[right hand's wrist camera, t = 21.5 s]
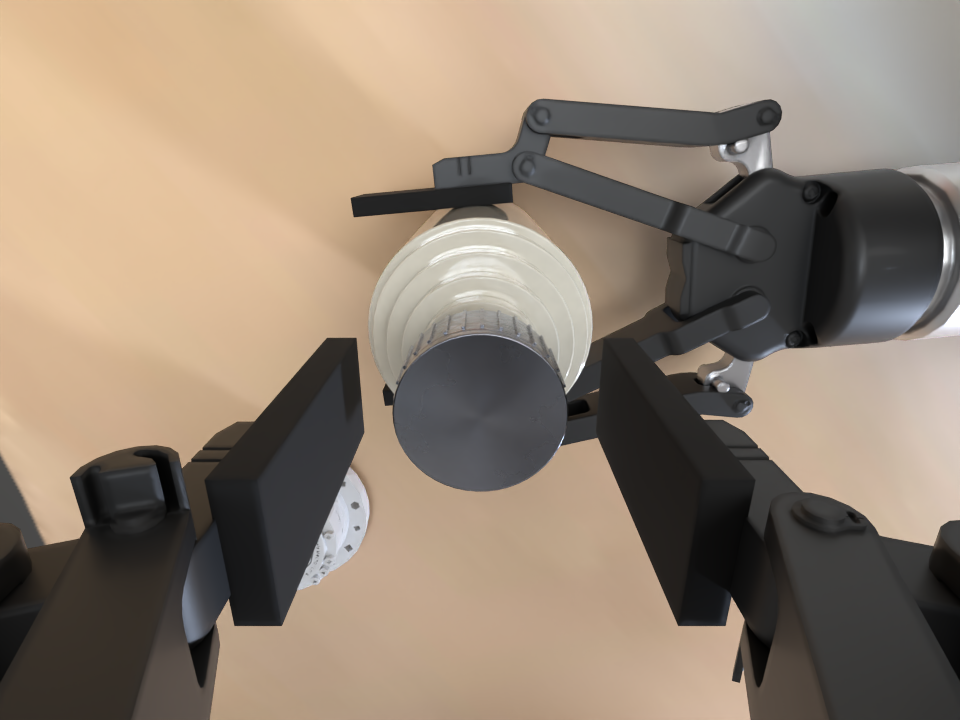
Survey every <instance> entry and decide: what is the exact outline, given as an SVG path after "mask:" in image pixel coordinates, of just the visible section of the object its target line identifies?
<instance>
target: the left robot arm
mask: <svg viewBox="0 0 960 720" xmlns="http://www.w3.org/2000/svg"><path fill="white" fill-rule="evenodd" d="M781 116H782V110H781V107H780V105H779V104H778V103H777V102H776V101H774V100H771V99H770V100H762V101H758V102H753V103H748V104H744V105H739V106H735V107H732V108H728V109H725V110H722V111H718V112H715V113H713V112H701V111H688V110H676V109H664V108H651V107H639V106H627V105H614V104H602V103H590V102H577V101H565V100H552V99H538V100H536V101H534V102H533V103H532V104H531V105H530V106H529V107H528V108H527V109H526V111H525V112H524V113H523V117H522V122H521V125H520V129H519V133H518V136H517V140H516V142H515V144H514V146H513V147H512V148H511V149H510V150H509V151H507V152H504V153H497V154H487V155H476V156H466V157H455V158H445V159H442V160H441V161H439V162H437V163H435V164H433V165H432V166H433V175H434V184H435V188H426V189H415V190H404V191H394V192H383V193H372V194H363V195H360V196H356V197H353V198H351V203H352V209H353V215H354V217H362V216H373V215H383V214H394V213H405V212H416V211H427V210H438V209H449V208H460V207H471V206H481V205H492V204H503V203H513V195H512V183H523V182H524V183H527V184H530V185H533V186H536V187H539V188H541V189H544V190H547V191H550V192H553V193H556V194H559V195H562V196H565V197H568V198H571V199H574V200H576V201H579V202H582V203H585V204H588V205H591V206H594V207H597V208H600V209H603V210H606V211H609V212H611V213H614V214H617V215H620V216H623V217H626V218H629V219H632V220H635V221H638V222H641V223H644V224H646V225H649V226H652V227H655V228H658V229H661V230H664V231H667V232H670V233H672V237H667V257H668V261H669V266H670V275H669V278H668V282H667V285H666V293H665V303H664V304H662V305H660V306H658V307H656V308H654V309H652V310H650V311H649V312H648V313H646V315H645V317H643V318H642V319H640V320H638V321H636V322H634V323H632V324H630V325H628V326H626V327H624V328H622V329H619V330H617V331H615V332H613V333H611V334H609V335H607V336H605V337H603V338H601V339H599V340H597V341H595V342H593V343H591V345H590V349H589V354H588V357H587V359H586V362H585V365H584V367H583V369H582V371H581V373H580V375H579V377H578V379H577V381H576V382H575V383H574V385H573V386H572V387H571V389H570V390H569V392H568V393H567V394H566V397H567V399H568V422H567V427H566V431H565V434H564V437H563V440H562V442H561V444H560V446H562V445H567V444H571V443H576V442H580V441H585V440H589V439H594V438H598V437H597V434H596V422H597V410H598V399H599V391H598V392H594V393H590V392H592V391H594V390H596V389H598V388H599V387H600V375H601V363H602V351H603V339H604V338H633V339H634V340H635V341H636V342H637V343H638V344H639V345H640V347H641V348H642V349H643V350H644V351H645V352H646V354H647V355H648V356H649V357H650V358H651V359H652V361H653V362H655V361H658V360H660V359H662V358H664V357H666V356H669V355H681V354H684V353H686V352H689V351H691V350H693V349H695V348H697V347H699V346H701V345H704V344H706V343H708V342H710V343H711V344H713V345H715V346H716V347H718V348H719V349H721V350H723V351H724V352H725V354H724V356H723V357H722V359H721V360H719V361H718V362H715V363H711V364H703V365H701V366H699V368H698V373H692V372H689V373H678V374H672V375H668V376H666V377H667V378H668V379H669V380H670V381H671V382H672V384H673V385H674V386H675V387H676V388H677V389H678V391H679V392H680V393H681V394H682V395H683V396H684V398H685V399H686V400H687V401H688V402H689V403H690V404H691V406H692V407H693V408H694V409H695V410H696V411H697V413H698V414H699V415H702V414H703V415H714V416H725V417H736V418H738V417H743V416H746V415H747V414H748V413H750V412H751V410H752V408H753V401H752V398H750V397H749V396H748V395H747V394H746V393H745V390H746V386H747V383H748V379H749V376H750V373H751V369H752V366H753V362H754V361H758V360H761V359H763V358H765V357H767V356H768V355H770V354H772V353H774V352H776V351H779V350H782V349H787V348H817V347H829V346H841V345H853V344H865V343H877V342H885V341H888V340H892V339H896V340H904V341H907V340H918V339H928V338H939V337H949V336H960V162H954V163H942V164H931V165H919V166H911V167H904V168H900V169H897V170H893V169H875V170H864V171H853V172H842V173H831V174H820V175H809V176H798V177H794V176H791V175H788V174H786V173H784V172H783V171H781V170H778V169H775V168H773V164H772V152H771V141H770V131H772V130H774V129H775V128H776V127H777V126H778V124H779V122H780V120H781ZM550 137H559V138H571V139H584V140H597V141H609V142H622V143H634V144H647V145H660V146H672V147H702V146H709V147H710V153H711V156H712V157H713V158H714V159H715V160H716V161H719V162H731V163H733V164H734V165H736V167H737V169H738V172H739V174H738V175H737V176H736V177H734V178H733V179H732V180H731V181H729V182H728V183H727V184H726V185H724V186H723V187H722V188H721V189H719V190H718V191H717V192H716V193H714V194H713V195H712V196H711V197H709V198H708V199H707V200H706V201H704V202H703V203H702V204H701V205H699V206H698V207H697V208H695V207H692V206H689V205H686V204H682V203H679V202H676V201H673V200H670V199H667V198H664V197H661V196H658V195H656V194H653V193H650V192H647V191H644V190H641V189H638V188H636V187H633V186H630V185H627V184H624V183H621V182H618V181H616V180H613V179H610V178H607V177H604V176H601V175H598V174H596V173H593V172H590V171H587V170H584V169H581V168H578V167H576V166H573V165H570V164H567V163H564V162H561V161H558V160H556V159H553V158H550V157H547V156H545V154H546V150H547V147H548V144H549V140H550ZM587 393H589V394H587ZM383 396H384V402H385V406H389V405H393V396H394V393H393V392H392V391H391V389H390V388H389V387H388V385H387V384H385V387H384V389H383Z"/></svg>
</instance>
